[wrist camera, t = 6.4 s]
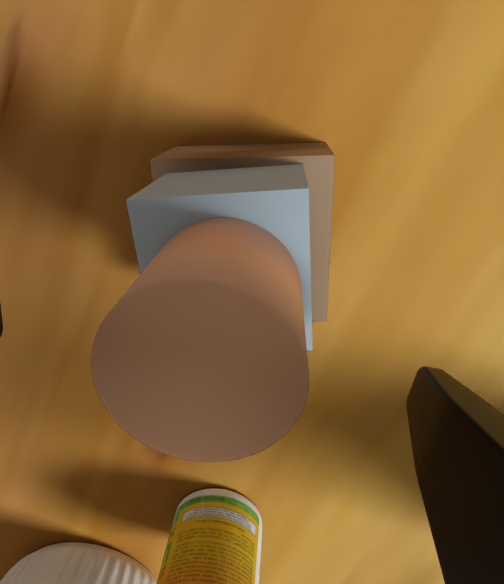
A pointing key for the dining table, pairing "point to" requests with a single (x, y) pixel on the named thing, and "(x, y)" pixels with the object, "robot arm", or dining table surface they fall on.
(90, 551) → the ramekin
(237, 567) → the supplement bottle
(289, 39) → the dining table surface
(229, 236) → the terracotta dowel
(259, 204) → the slate block
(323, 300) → the walnut base block
